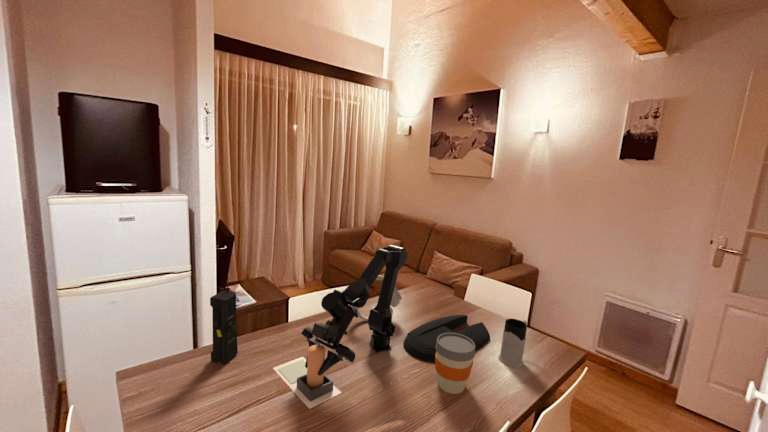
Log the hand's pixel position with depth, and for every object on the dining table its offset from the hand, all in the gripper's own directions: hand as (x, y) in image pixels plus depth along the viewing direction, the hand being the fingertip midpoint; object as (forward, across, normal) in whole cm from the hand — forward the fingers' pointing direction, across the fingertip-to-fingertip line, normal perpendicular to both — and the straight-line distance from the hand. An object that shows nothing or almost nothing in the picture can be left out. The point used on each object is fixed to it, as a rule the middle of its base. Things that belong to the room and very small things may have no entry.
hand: (312, 371), depth 100 cm
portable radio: (+10, -35, 0) cm, 37 cm away
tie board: (+4, -5, +7) cm, 10 cm away
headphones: (-30, -14, +42) cm, 54 cm away
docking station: (-35, +17, +47) cm, 61 cm away
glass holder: (-40, +42, +51) cm, 77 cm away
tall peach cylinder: (+4, 0, +6) cm, 7 cm away
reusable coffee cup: (-18, +30, +29) cm, 45 cm away
